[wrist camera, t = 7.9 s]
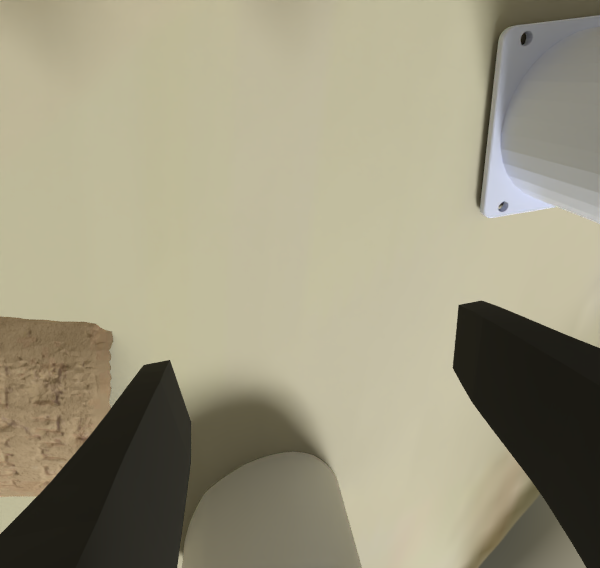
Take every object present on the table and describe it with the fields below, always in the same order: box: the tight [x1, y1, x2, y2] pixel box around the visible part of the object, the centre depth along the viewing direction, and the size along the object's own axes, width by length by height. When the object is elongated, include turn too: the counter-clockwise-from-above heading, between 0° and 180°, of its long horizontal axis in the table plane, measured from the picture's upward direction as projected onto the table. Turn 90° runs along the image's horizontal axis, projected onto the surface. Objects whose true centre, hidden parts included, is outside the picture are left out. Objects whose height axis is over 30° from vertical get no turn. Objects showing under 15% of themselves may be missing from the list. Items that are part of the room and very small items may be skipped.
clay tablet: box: [0, 317, 113, 497], centre depth 20 cm, size 14×10×3 cm
